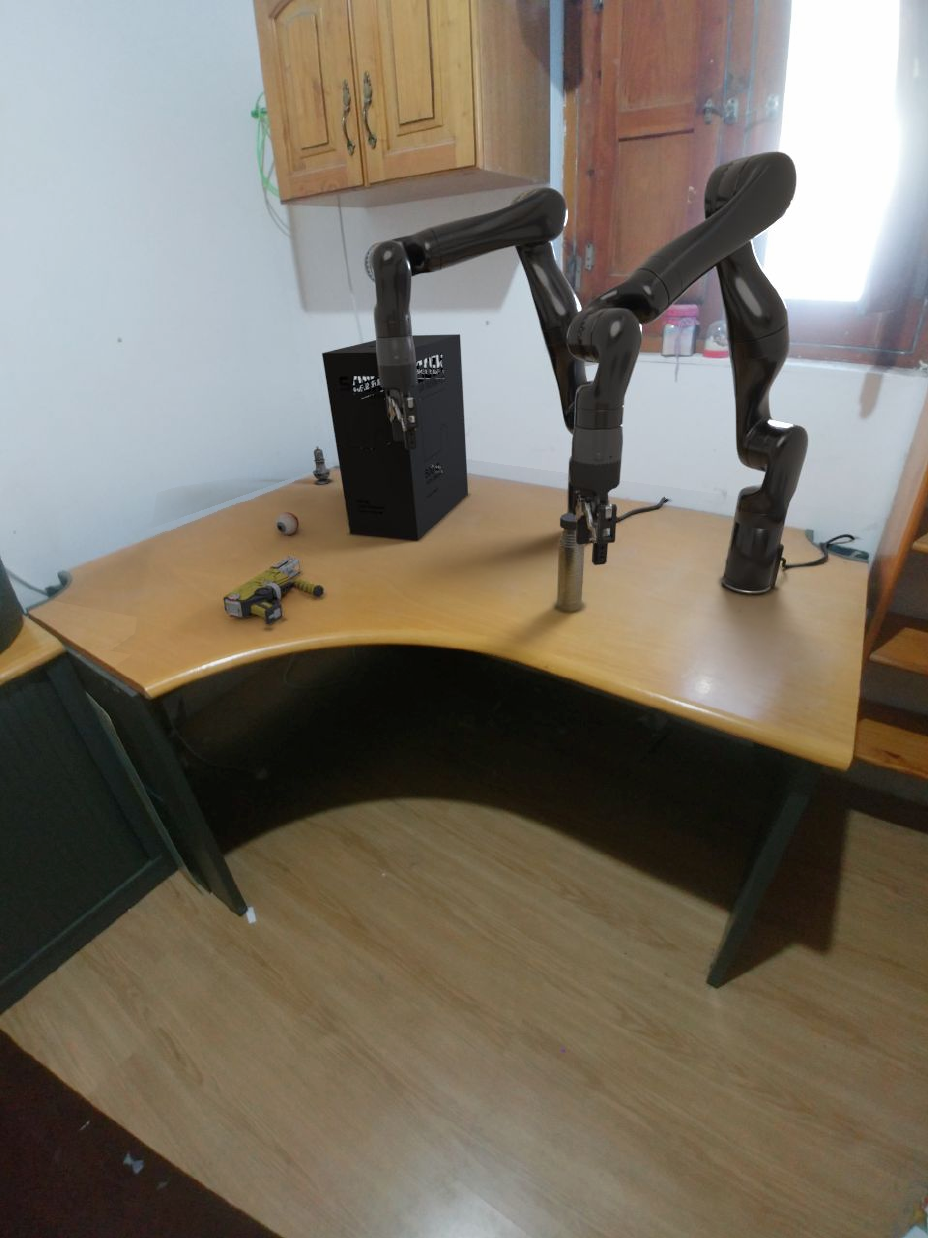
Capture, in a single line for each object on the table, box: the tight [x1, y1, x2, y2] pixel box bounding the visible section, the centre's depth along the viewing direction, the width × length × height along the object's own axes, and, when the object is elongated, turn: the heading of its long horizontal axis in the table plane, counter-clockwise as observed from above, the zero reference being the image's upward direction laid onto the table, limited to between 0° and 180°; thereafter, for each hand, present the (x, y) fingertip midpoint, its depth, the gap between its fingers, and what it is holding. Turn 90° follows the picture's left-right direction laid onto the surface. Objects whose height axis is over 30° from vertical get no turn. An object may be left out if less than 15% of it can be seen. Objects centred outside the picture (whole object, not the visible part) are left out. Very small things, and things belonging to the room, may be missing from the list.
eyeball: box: [275, 511, 300, 536], centre depth 163 cm, size 6×6×6 cm
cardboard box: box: [321, 333, 469, 541], centre depth 164 cm, size 38×20×45 cm, turn 159°
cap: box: [559, 512, 578, 530], centre depth 114 cm, size 5×5×2 cm
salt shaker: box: [312, 446, 332, 485], centre depth 203 cm, size 6×6×12 cm
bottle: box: [556, 529, 586, 613], centre depth 118 cm, size 5×5×19 cm
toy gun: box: [222, 556, 324, 626], centre depth 131 cm, size 5×24×15 cm
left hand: (404, 444), depth 126 cm, fingers open, 8 cm apart
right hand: (590, 553), depth 99 cm, fingers open, 8 cm apart
